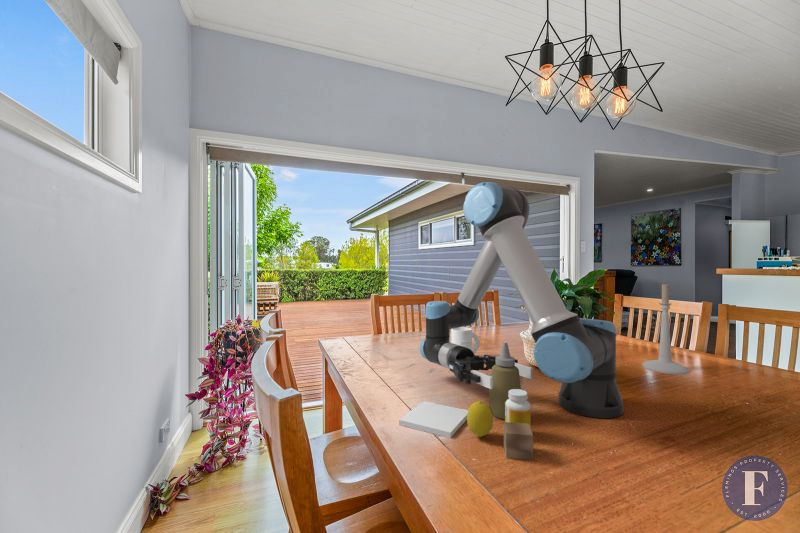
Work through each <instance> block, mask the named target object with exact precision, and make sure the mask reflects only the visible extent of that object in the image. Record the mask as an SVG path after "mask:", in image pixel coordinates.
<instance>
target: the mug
mask: <svg viewBox="0 0 800 533" xmlns="http://www.w3.org/2000/svg"><path fill="white" fill-rule="evenodd" d="M450 331H451V332H450V339H451V340H450V343H454V344H457V345H460V346H463V347H466V348H469V349H471V350H472V351H473V353H474V354H476V352H477V351H478V350H479V348H480V345H481V339H480V338H479V335H477V334H476V333H475V332H473V329H472V328H471V327H467V326H463V327H458V328H454V329H450ZM473 340H474V345H473Z"/></svg>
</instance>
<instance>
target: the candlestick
mask: <svg viewBox="0 0 800 533" xmlns="http://www.w3.org/2000/svg"><path fill="white" fill-rule="evenodd" d="M659 305H660V309H661V311H662V312H661V318H660V319H661V320H660V335H659V336H660V337H659V352H658V359H651V360H647V361H645V362H643V364H642V367H643V368H645V369H646V370H647V371H648V370H649V371H652V372H655V373H656V372H657V373H661V374H667V375H668V374H669V375H686V374H688V373H689V368H688V367H686V366H685V365H683V364H680V363H678V362H675V361H673V359H672V350H671V349H672V348H671V346H672V345H671V333H670V330H671V329H670V328H671V327H670V316H669V315H670V314H669V310H670V309H671V307H670V306H671V305H672V303H670V284H668V283H667V284H666V282H665V283H663V284H661V302H659Z"/></svg>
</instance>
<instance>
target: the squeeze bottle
mask: <svg viewBox="0 0 800 533" xmlns="http://www.w3.org/2000/svg"><path fill="white" fill-rule="evenodd" d="M495 357H496V364H495V365H494V366H493V367H492V369H491V373H490V376H491V377H493V389H489V392H488V402H489V404H490V409H491V412H492V415H493V416H495V417H497V418H499V419H502V420H505V403H506V401H507V400H508V399H509V397H508V393H509V390H511V389H520V390H522V387H521V379H520V378H521V376H520V375H519V369H518V368H517V367H516V366H514V365H515V357H514V356H511V353H510V349H509V343H507V342H502V344H501V349H500V353H499V355H497V356H495Z"/></svg>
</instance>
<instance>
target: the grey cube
mask: <svg viewBox="0 0 800 533" xmlns="http://www.w3.org/2000/svg"><path fill="white" fill-rule="evenodd" d="M503 449H504V454H505V459H511V460H521V461H522V460H525V461H534V434H533V432H532V428H531V429H530V426H529V424H524V423H509V422H505V421H503Z"/></svg>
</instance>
